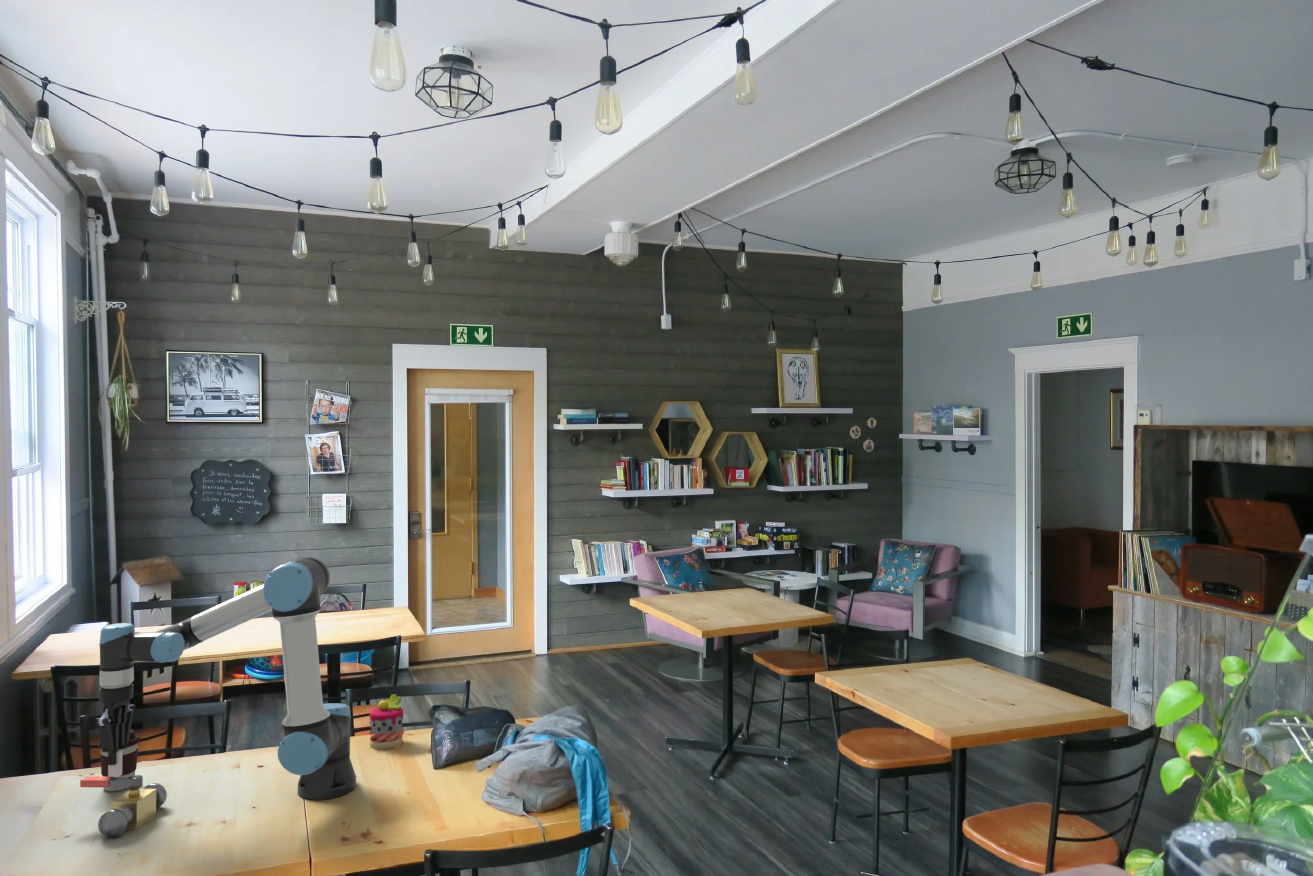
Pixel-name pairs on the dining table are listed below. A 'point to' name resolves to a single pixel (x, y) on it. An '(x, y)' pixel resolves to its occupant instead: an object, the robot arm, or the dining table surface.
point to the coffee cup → (128, 759)
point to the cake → (386, 724)
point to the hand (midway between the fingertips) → (115, 775)
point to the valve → (132, 810)
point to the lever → (112, 782)
